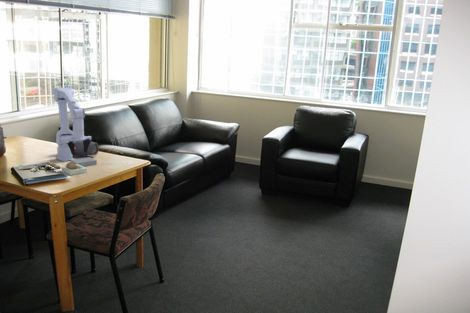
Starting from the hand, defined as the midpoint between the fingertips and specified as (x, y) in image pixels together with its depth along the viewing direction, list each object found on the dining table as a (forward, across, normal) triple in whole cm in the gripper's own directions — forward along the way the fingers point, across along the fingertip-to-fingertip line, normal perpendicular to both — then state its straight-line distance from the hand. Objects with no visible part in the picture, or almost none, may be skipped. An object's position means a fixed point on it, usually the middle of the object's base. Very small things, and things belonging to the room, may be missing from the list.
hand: (79, 153), depth 257 cm
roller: (+8, -5, -2) cm, 10 cm away
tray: (+9, -5, -2) cm, 11 cm away
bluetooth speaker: (+10, +15, +28) cm, 33 cm away
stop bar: (+9, -12, +8) cm, 17 cm away
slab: (+10, +7, +8) cm, 15 cm away
